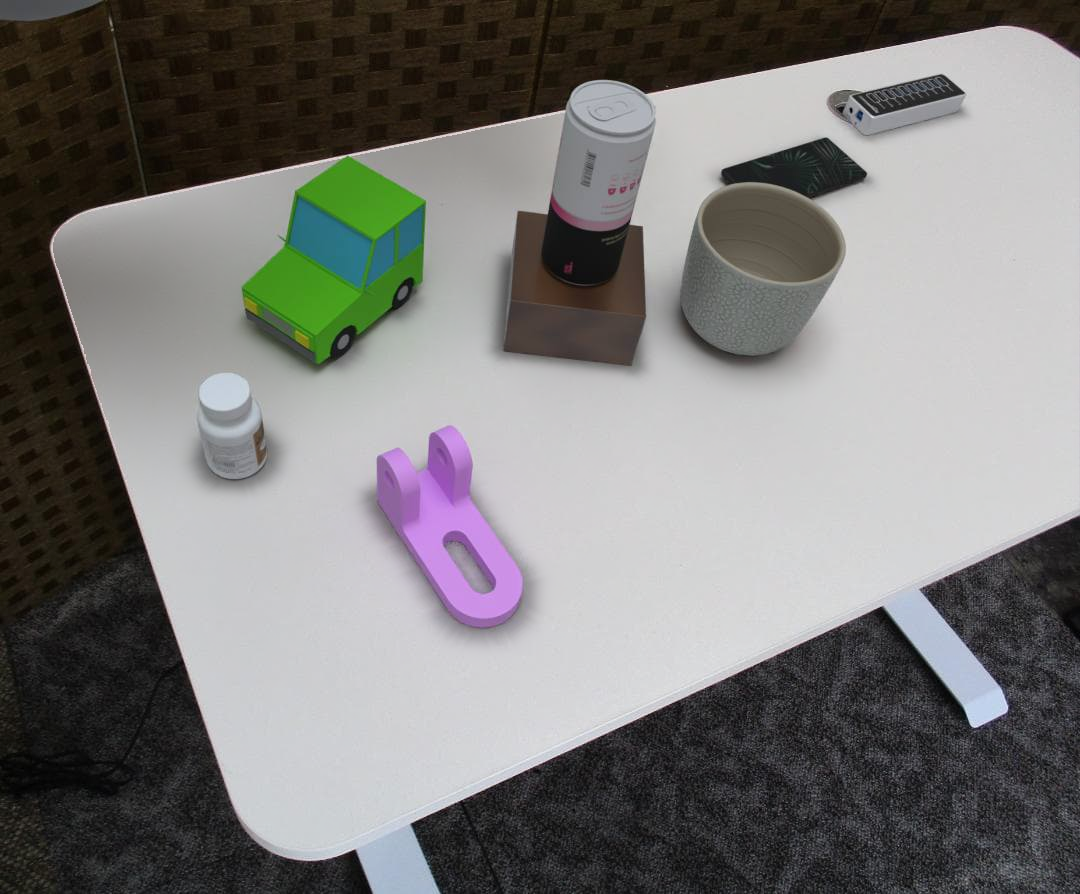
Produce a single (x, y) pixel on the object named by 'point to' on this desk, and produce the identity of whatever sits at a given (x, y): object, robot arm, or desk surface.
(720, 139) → the desk surface
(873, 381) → the desk surface
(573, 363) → the desk surface
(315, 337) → the toy car
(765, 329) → the planter
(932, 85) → the multiport hub
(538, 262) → the riser
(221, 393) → the pill bottle
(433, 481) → the bracket
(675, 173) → the desk surface
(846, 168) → the smartphone
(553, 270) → the beverage can
